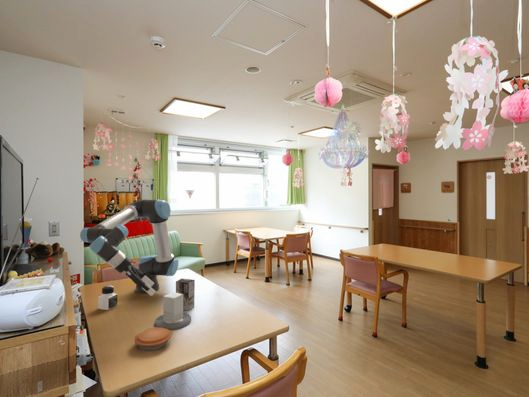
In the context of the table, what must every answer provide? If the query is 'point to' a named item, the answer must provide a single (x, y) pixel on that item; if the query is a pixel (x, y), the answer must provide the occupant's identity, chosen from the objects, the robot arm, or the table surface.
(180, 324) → the charcoal plate
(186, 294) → the coffee box
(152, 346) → the pie
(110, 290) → the white bottle
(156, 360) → the table surface
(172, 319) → the supplement box
